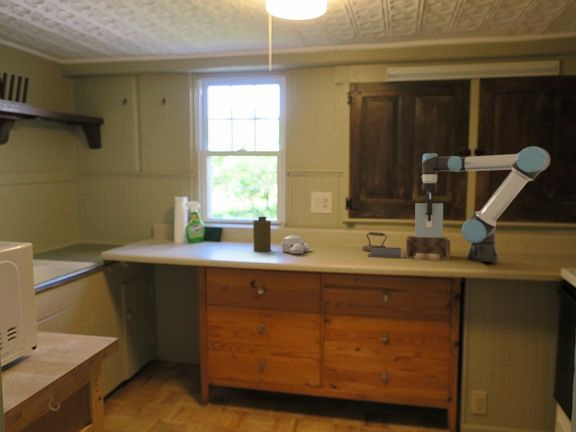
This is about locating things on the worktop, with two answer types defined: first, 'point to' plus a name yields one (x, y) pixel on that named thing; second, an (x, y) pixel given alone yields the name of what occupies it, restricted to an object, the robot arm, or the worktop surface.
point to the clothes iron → (368, 247)
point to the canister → (262, 234)
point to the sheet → (436, 220)
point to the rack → (428, 246)
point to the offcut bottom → (424, 259)
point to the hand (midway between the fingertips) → (428, 226)
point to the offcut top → (427, 255)
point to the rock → (294, 245)
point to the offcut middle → (426, 258)
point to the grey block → (386, 252)
